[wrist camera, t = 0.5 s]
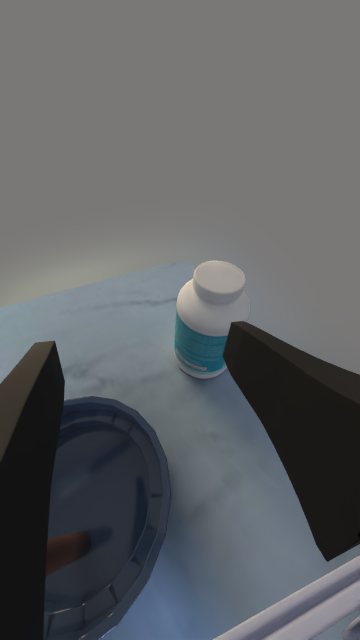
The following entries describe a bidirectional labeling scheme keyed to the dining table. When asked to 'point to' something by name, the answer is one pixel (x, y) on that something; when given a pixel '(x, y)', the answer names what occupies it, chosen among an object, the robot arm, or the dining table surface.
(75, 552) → the stirring stick
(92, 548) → the bowl
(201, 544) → the dining table surface
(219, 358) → the pill bottle
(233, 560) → the dining table surface
